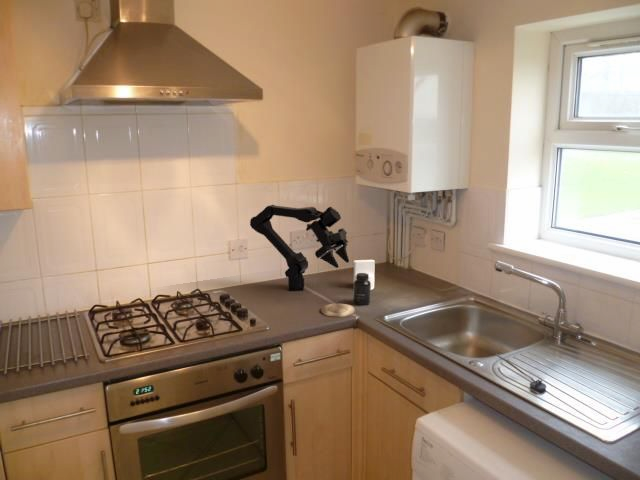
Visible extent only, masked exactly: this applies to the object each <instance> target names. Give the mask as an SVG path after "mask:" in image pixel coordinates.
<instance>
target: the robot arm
mask: <svg viewBox="0 0 640 480" xmlns="http://www.w3.org/2000/svg"><path fill="white" fill-rule="evenodd" d="M274 216H276V217H285V218H292V219H296V220H297V221H299V222H302V223H306V228H305V230H306V231H307V232H308V231H310V230H311V231H312V232H313V234H314V236H315V237H316V242H317V243H320V245H321V246H320V247H319V248H318V249H316V250H315V252H314V254H315V257H316V259H320V260H322V261H324V262H326V263H328V264H329V265H331V266H332V267H334V268H336V269H338V268H339V267H340V266H339V264H338V261H337V260H336V257H335V256H334V253H335V254H336V255H338V257H340V258H341V259H342V260H343V261H344V262H345V263H347V264H348V263H349V262H350V260H349V256H348V252H347V246H348V243H349V241H348V240H347V234H348V233H347V231H346V230H345V228H340V229H338V230H337V232H333V231H332V230H329V229H328V228H331V227H333V226H334V225H336V224H337V223H338V222H339V221H340V220H341V219H342V218H341V214H340V213H339V211H338V210H336V209H335V208H333V207H332V206H328V208H326V209H325V210H324V211H320V210H317V208H316V207H315V206H306V207H298V208H297V207H289V206H283V205H282V206H281V205H275V204H270V205H267V206H265V208H264V209H263V210H262V211H260V212H259V213H257V215H255V216H253V217H251V218H250V219H249V224H250V227H251V229H252V230H254V231H255V232H256V233H258V234H260V235H262V236H263V237H265V239H267V241H268V242H269V243H271V244H272V246H273V247H274V248H275V250H277V251H278V252H279V253H280V255H281V256H282V257H283V258H284V259H285V261H286V265H287V267H288V268H287V269H286V270H285V271H284V275H285V277H286V278H287V289H288V291H289V292H292V291H293V292H296V291H304V288H305V277H304V275H303V274H305V272H306V270H307V269H308V268H309V262H308V260H307V257H306V256H304V254H303V253H302V252H301V251H299V252H295V251H294V250H293V249H292V248H291V247H290V246H289V244H287V242H285V240H284V239H283V238H282V237H281V236H280V235H279V234H278V233H277V232H276V230H274V228H273V225H272V222H271V220H272V219H273V217H274ZM310 222H311V223H310Z"/></svg>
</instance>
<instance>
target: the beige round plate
mask: <svg viewBox="0 0 640 480" xmlns="http://www.w3.org/2000/svg"><path fill="white" fill-rule="evenodd" d="M355 311H356V309H355V307H354V306H353V305H350V304H347V303H346V304H345V303H329V304H326V305H323V306H322V307H321V308H320V312H321V314H322V313H323V314H322V315H324V316H327V317H331V318H346V317H350V316H352V315H354V314H355Z"/></svg>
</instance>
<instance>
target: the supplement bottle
mask: <svg viewBox="0 0 640 480" xmlns="http://www.w3.org/2000/svg"><path fill="white" fill-rule="evenodd" d="M368 277H369V275H368V274H366V273H358V274H357V276H356V279H357V280H355V282H354V281H353V292H352V295H353V296H352V300H353V304H355V305H357V306H368V305H370V303H371V292H372V291H371V283H370V281H368V279H369V278H368Z"/></svg>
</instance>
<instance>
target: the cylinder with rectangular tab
mask: <svg viewBox="0 0 640 480" xmlns="http://www.w3.org/2000/svg"><path fill="white" fill-rule="evenodd" d="M375 264H376V261H375V260H374V259H359V260H358V259H356V260H355V259H354V260H353V283H354V282H355V280H357V279H356V276H357V274H358V273H366V274H368V275H369V277H368V278H369V279H368V281H370V283H371V290H373V289H375Z"/></svg>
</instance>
